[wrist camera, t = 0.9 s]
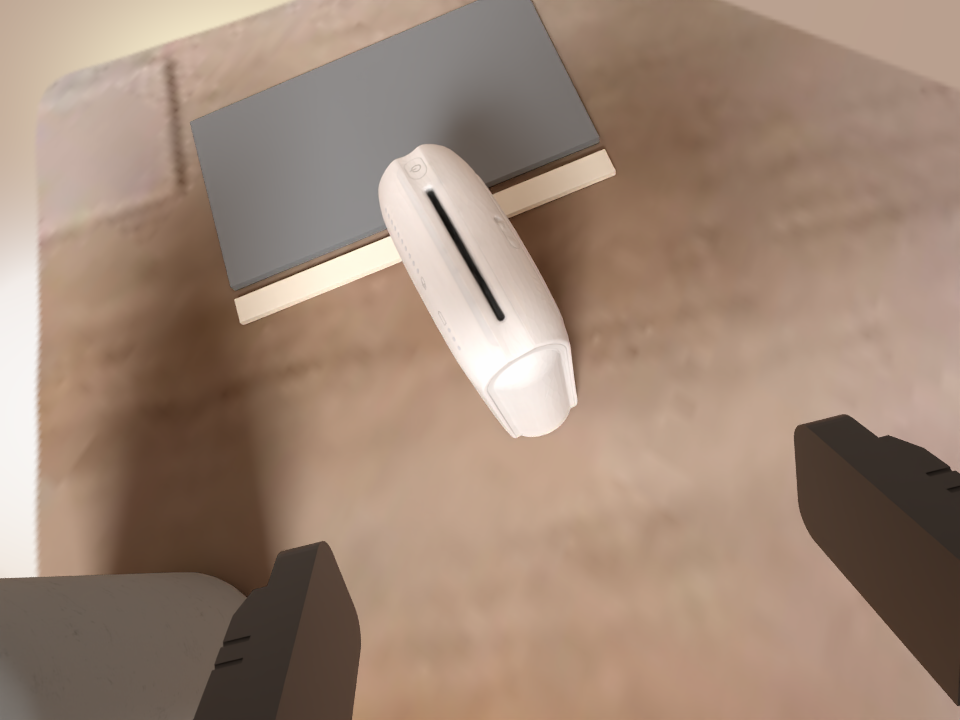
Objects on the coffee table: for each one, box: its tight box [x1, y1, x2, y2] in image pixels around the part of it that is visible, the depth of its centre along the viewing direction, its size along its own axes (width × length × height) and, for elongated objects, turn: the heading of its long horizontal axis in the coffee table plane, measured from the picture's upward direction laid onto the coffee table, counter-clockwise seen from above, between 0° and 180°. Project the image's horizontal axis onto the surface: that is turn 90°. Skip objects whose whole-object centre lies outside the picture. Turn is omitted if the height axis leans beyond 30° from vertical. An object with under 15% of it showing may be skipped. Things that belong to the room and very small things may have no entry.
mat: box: [190, 0, 616, 325], centre depth 38 cm, size 22×14×1 cm, turn 110°
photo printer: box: [378, 144, 577, 438], centre depth 28 cm, size 10×4×12 cm, turn 27°
